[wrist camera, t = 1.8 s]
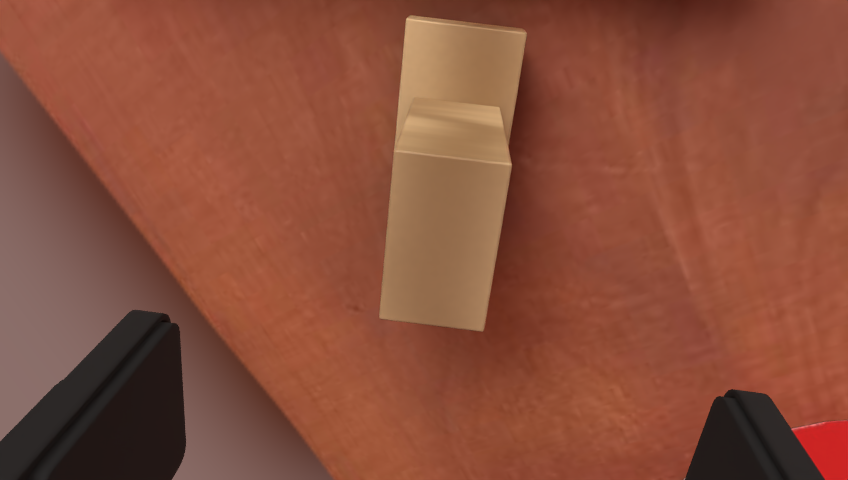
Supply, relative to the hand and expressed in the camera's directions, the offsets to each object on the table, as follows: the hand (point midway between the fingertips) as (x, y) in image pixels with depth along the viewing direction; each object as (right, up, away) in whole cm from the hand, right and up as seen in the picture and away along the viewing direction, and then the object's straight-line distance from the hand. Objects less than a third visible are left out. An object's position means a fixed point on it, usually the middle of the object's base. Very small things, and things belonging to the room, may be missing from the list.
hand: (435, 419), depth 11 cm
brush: (+1, +7, +14) cm, 16 cm away
